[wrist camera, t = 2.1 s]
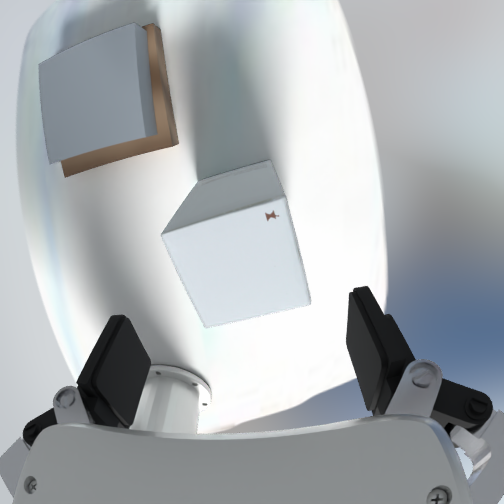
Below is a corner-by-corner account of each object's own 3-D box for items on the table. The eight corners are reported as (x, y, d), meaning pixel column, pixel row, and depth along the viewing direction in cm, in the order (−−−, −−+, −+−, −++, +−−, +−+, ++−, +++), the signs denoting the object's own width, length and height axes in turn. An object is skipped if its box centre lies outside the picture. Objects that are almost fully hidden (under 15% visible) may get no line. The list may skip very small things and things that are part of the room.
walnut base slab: (180, 143, 25) (172, 146, 23) (79, 171, 26) (64, 177, 23) (162, 31, 20) (153, 23, 17) (62, 71, 21) (46, 70, 18)
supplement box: (195, 180, 26) (155, 230, 15) (271, 158, 26) (289, 192, 14) (219, 247, 30) (202, 331, 18) (290, 229, 29) (315, 306, 17)
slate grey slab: (157, 134, 22) (145, 137, 20) (67, 158, 23) (49, 164, 20) (146, 31, 18) (134, 22, 15) (56, 66, 18) (38, 64, 15)
